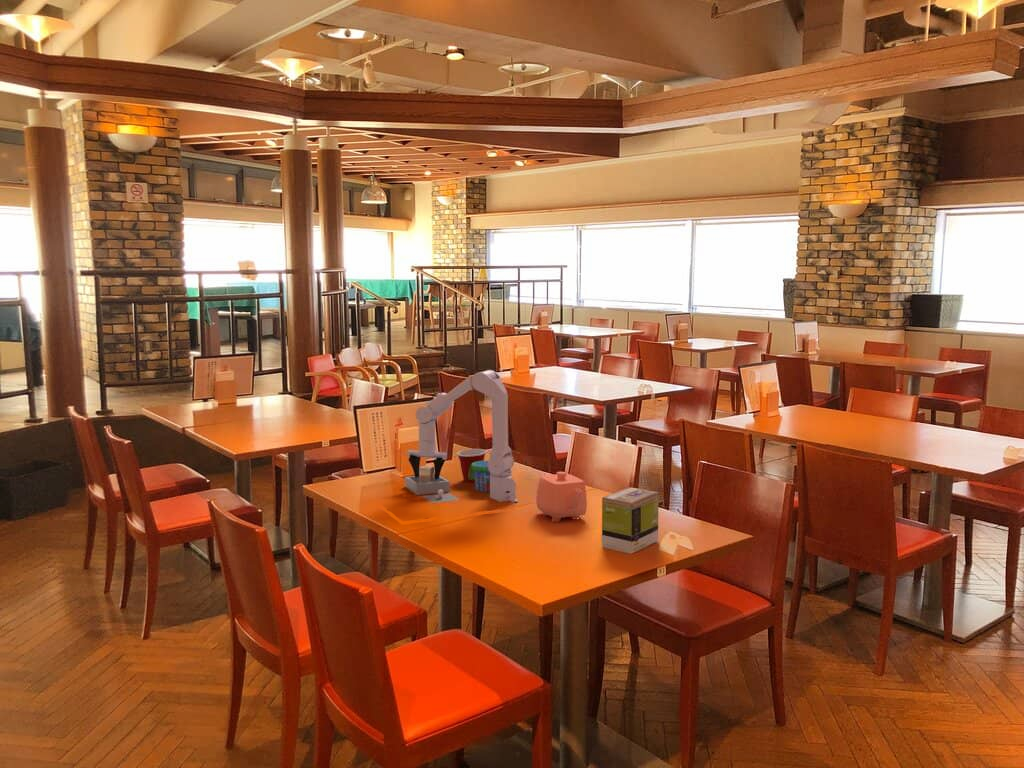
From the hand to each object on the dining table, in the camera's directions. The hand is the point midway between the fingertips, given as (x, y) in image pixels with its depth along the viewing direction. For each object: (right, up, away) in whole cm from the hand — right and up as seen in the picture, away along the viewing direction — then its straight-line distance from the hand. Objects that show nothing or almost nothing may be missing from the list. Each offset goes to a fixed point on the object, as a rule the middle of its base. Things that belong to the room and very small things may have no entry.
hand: (427, 477), depth 286 cm
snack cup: (+21, -5, +1) cm, 22 cm away
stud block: (+6, -6, -11) cm, 14 cm away
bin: (0, -5, +1) cm, 5 cm away
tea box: (+63, -13, -55) cm, 84 cm away
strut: (0, -4, 0) cm, 4 cm away
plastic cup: (+15, -4, +13) cm, 20 cm away
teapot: (+45, -9, -28) cm, 54 cm away
